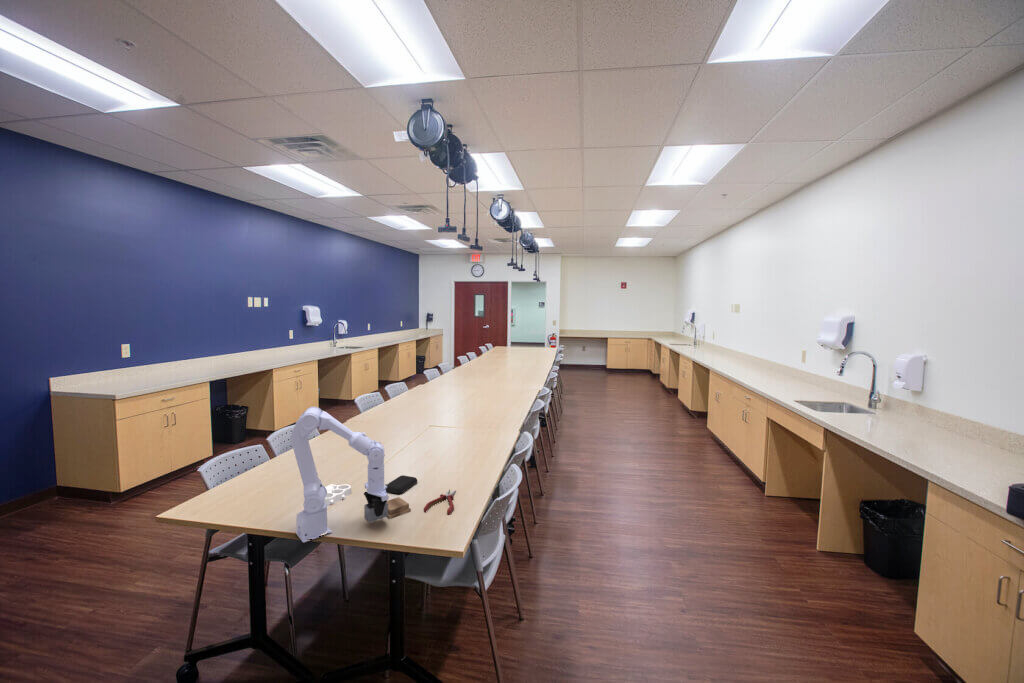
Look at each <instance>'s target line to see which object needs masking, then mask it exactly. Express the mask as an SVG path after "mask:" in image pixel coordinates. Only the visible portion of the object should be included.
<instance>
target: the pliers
mask: <svg viewBox="0 0 1024 683" xmlns="http://www.w3.org/2000/svg"><path fill="white" fill-rule="evenodd" d="M450 491H451V489H450V488H449V489H448V490H447V491H446V493H445V494H443V493H442V494H440V495H439V497H437V498H435V499H433V500H431V501H428V502H427V503H426V504H425V505H424V507H423V512H424V513H427V512H428V510H429V509H431V506H432V507H434V506H436V505H438V504H440V503H442V501H443V502H445V501H447V500H448V501H447V503H448V502H449V503H448V506H449V505H450V506H449V507H448V508H447V511H446V515H448V516H450V515H451V514H452V513H453V511H454V509H455V506H454V502H453V501H454V495H455V493H456V492H457V490H453V491H451V492H450ZM446 499H447V500H446ZM444 500H445V501H444ZM452 500H453V501H452ZM439 502H440V503H439ZM437 503H438V504H437ZM435 504H436V505H435ZM433 505H434V506H433ZM426 511H427V512H426Z"/></svg>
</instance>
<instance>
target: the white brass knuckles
mask: <svg viewBox="0 0 1024 683" xmlns="http://www.w3.org/2000/svg"><path fill="white" fill-rule="evenodd" d="M324 487H325V488H326V490H327V495H326V497H325V500H324V501H325V503H326V504H327V506H330V504H331V505H335V502H336V503H337V501H338V502H341V501H343V500H344V499H345V498H347V495H348V496H350V495H351V494H352V486H351V485H350V484H347V483H344V484H339V485H338V484H337V485H336V484H334V483H331V484H329V485H326V486H324ZM342 499H343V500H342ZM340 500H341V501H340Z"/></svg>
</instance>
